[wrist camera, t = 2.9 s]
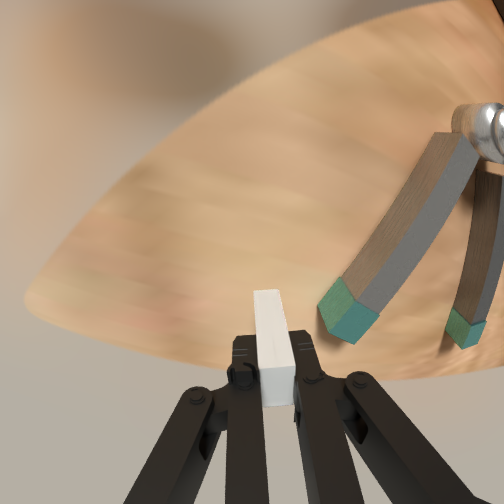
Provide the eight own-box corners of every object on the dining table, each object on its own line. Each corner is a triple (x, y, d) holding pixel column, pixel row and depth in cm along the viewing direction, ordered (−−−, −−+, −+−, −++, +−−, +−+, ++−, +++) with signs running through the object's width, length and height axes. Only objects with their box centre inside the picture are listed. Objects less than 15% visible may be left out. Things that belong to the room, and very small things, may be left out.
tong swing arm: (454, 88, 15) (495, 82, 10) (488, 131, 16) (527, 135, 11) (317, 304, 22) (333, 346, 17) (362, 328, 23) (383, 367, 18)
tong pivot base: (449, 99, 16) (483, 95, 12) (489, 113, 16) (520, 114, 12) (422, 335, 24) (441, 361, 20) (460, 325, 24) (480, 347, 20)
